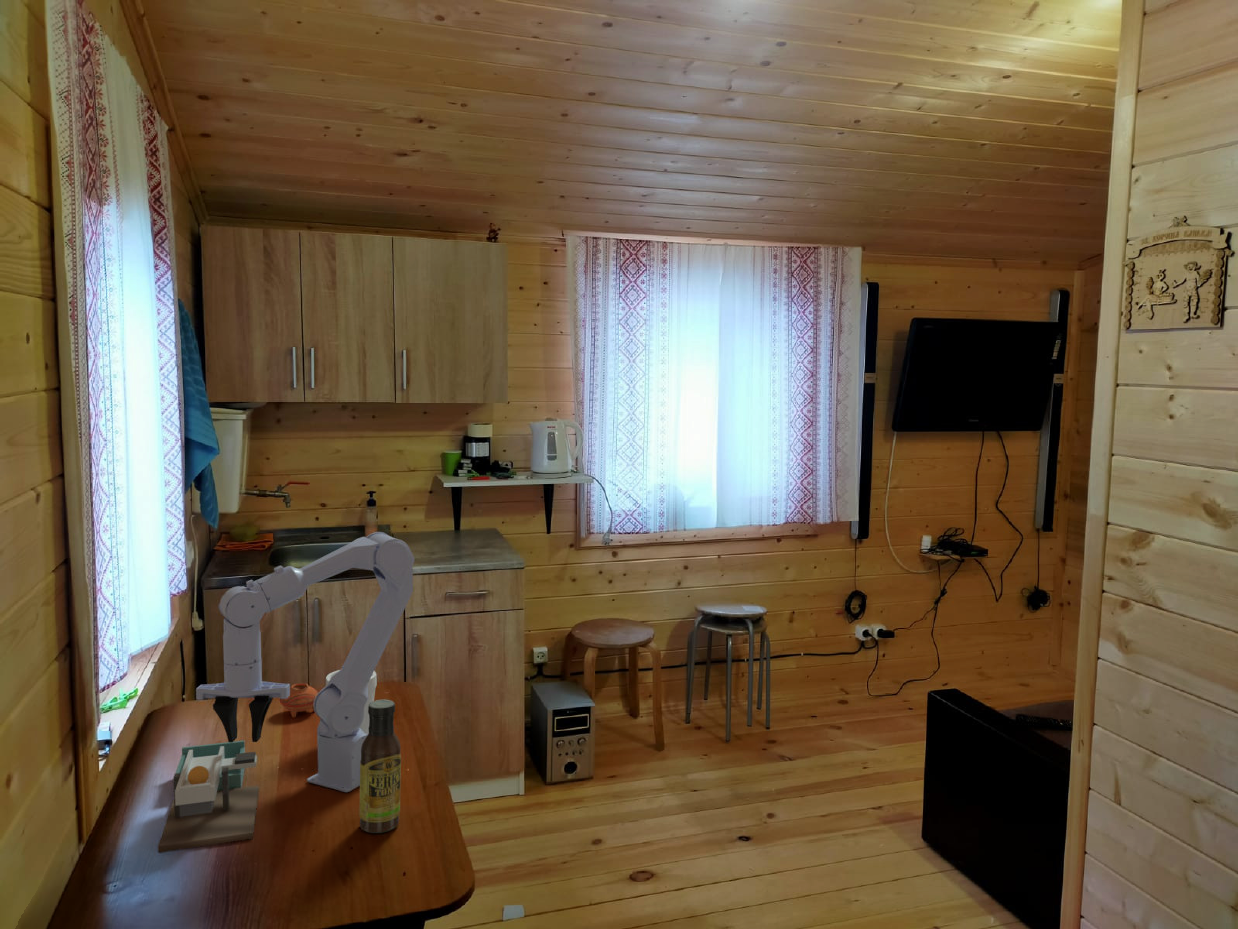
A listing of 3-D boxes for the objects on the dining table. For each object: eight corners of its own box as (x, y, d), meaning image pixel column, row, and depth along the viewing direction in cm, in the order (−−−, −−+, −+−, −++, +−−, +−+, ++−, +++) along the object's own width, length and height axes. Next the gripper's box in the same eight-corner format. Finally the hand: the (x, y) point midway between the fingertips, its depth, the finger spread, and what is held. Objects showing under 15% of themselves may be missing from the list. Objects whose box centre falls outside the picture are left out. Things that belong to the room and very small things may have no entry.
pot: (318, 702, 194) (319, 675, 192) (319, 723, 187) (320, 695, 185) (279, 705, 191) (279, 677, 189) (279, 726, 184) (279, 698, 182)
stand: (252, 839, 136) (251, 791, 135) (158, 852, 131) (156, 803, 131) (259, 791, 152) (257, 748, 151) (174, 801, 147) (173, 757, 147)
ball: (213, 783, 139) (212, 765, 138) (196, 791, 136) (196, 772, 136) (200, 779, 140) (199, 761, 140) (183, 787, 137) (182, 768, 137)
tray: (251, 808, 137) (251, 779, 136) (175, 818, 133) (174, 789, 133) (257, 766, 152) (257, 740, 151) (189, 774, 148) (188, 747, 148)
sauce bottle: (368, 840, 136) (366, 714, 134) (353, 824, 141) (351, 702, 139) (407, 828, 140) (406, 705, 138) (392, 812, 144) (390, 694, 143)
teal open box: (241, 791, 151) (240, 763, 151) (174, 799, 148) (174, 770, 148) (245, 767, 161) (244, 740, 161) (183, 774, 158) (182, 747, 157)
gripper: (294, 652, 151) (296, 730, 152) (207, 653, 150) (209, 731, 151) (281, 665, 144) (283, 746, 145) (189, 666, 143) (192, 748, 144)
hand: (244, 740), depth 147 cm, fingers open, 3 cm apart
